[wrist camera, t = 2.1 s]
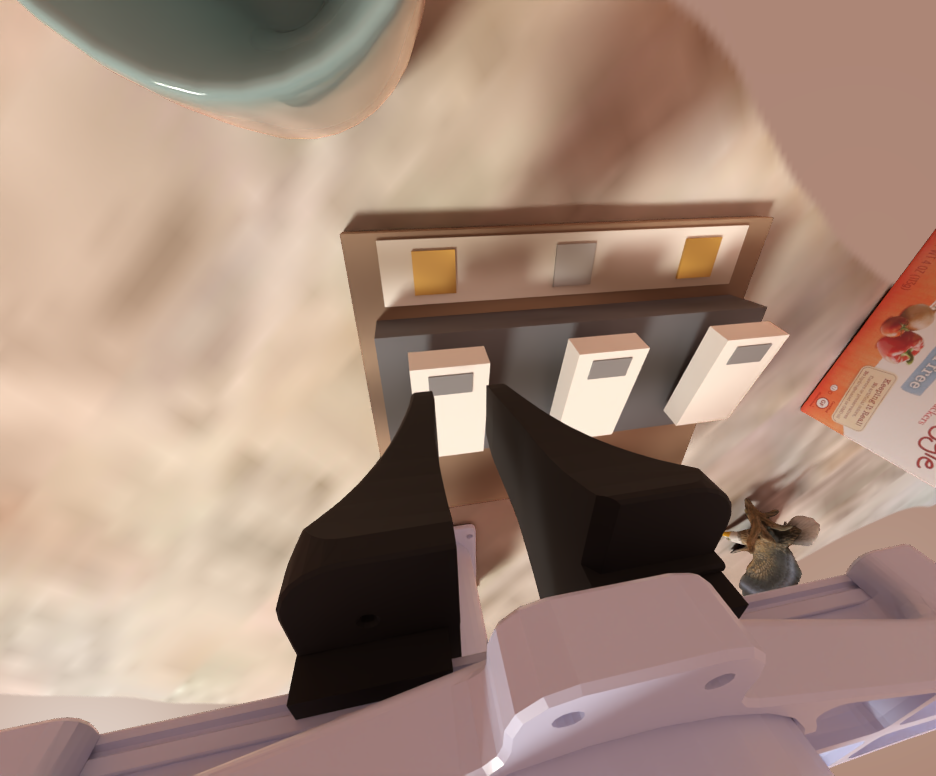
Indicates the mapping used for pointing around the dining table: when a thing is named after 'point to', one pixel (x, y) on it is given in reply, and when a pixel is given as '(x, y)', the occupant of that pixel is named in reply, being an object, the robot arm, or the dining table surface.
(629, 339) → the block
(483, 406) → the rocker
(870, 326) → the cracker box
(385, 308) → the switch board
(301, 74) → the cup
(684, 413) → the block
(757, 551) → the eagle figurine
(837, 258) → the dining table surface
